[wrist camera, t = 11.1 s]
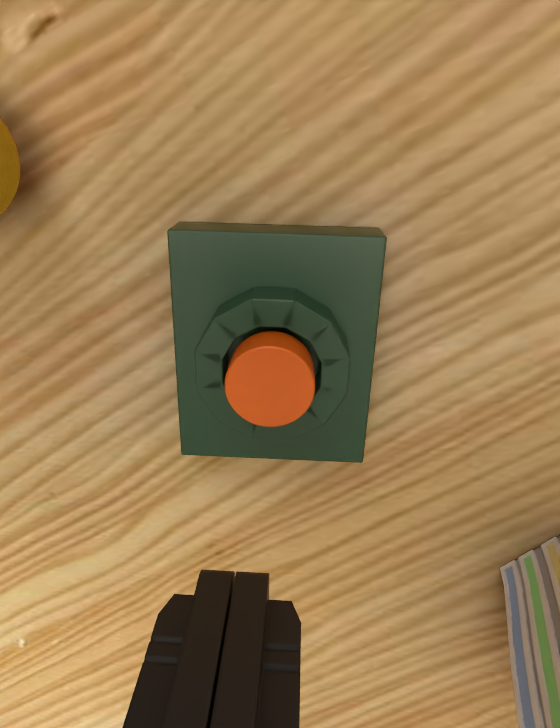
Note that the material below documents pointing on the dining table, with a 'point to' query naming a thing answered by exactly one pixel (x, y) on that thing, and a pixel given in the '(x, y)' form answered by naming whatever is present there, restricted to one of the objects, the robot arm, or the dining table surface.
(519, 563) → the vase
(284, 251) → the button box
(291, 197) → the dining table surface
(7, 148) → the lemon
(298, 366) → the button
